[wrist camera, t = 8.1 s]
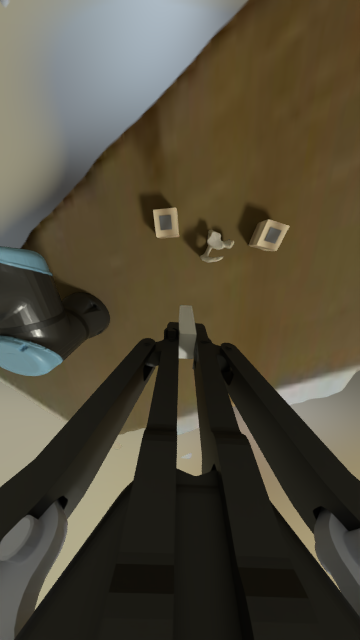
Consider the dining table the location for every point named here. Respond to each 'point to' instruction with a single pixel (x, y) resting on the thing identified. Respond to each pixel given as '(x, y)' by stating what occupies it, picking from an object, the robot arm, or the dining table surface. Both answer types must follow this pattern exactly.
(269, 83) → the dining table surface
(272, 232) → the marked cube 1
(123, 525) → the robot arm
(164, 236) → the marked cube 2
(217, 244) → the white irregular piece
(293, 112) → the dining table surface
